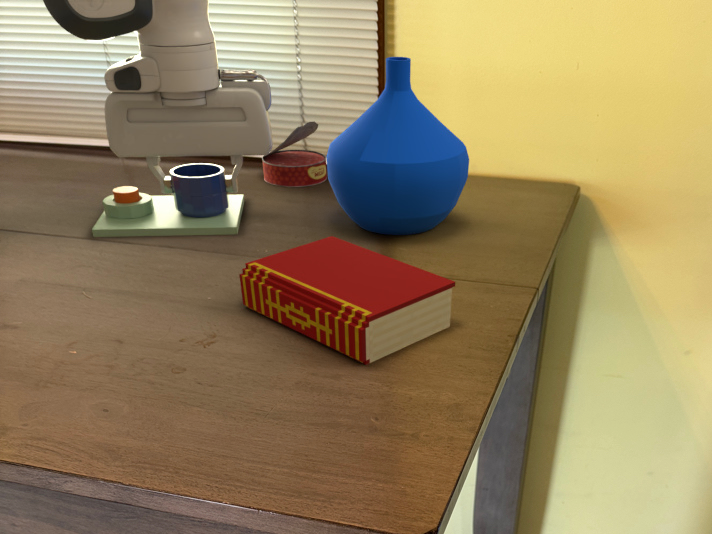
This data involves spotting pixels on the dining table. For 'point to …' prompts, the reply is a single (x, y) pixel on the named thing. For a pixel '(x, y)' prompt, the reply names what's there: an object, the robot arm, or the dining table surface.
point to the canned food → (295, 162)
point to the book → (348, 297)
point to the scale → (163, 218)
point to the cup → (199, 189)
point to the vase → (397, 162)
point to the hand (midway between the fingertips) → (200, 192)
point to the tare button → (126, 194)
